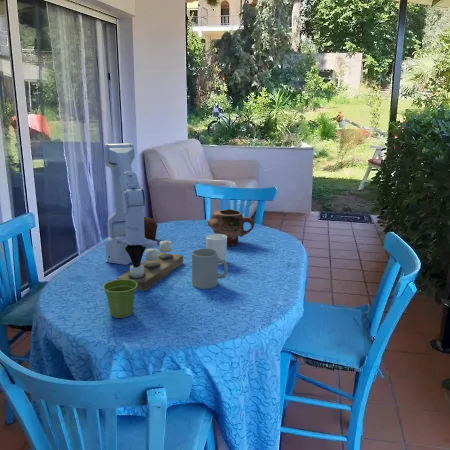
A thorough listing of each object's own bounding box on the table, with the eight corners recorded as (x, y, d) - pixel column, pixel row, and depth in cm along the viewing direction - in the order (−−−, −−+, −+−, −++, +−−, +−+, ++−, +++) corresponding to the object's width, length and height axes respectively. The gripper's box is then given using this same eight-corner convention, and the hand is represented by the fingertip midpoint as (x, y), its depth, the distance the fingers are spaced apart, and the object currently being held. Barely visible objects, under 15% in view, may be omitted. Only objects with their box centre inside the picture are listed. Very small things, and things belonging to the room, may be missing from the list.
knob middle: (143, 259, 154) (142, 250, 153) (149, 255, 158) (149, 247, 157) (154, 261, 153) (154, 252, 152) (160, 257, 157) (160, 248, 156)
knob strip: (117, 286, 146) (117, 277, 145) (159, 259, 171) (159, 251, 170) (144, 291, 142) (144, 281, 142) (183, 263, 168) (183, 255, 167)
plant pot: (107, 306, 131) (105, 279, 129) (140, 305, 132) (139, 278, 130) (101, 321, 122) (99, 292, 120) (136, 320, 123) (135, 291, 121)
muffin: (145, 235, 203) (144, 213, 200) (163, 239, 197) (163, 217, 194) (125, 241, 194) (124, 218, 191) (144, 246, 188) (143, 222, 185)
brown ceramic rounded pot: (254, 240, 197) (255, 209, 194) (253, 248, 186) (254, 216, 182) (209, 238, 199) (209, 207, 195) (205, 247, 187) (205, 214, 184)
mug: (188, 287, 146) (188, 255, 143) (196, 277, 154) (196, 247, 151) (224, 291, 143) (224, 258, 140) (230, 281, 151) (231, 250, 148)
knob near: (127, 276, 146) (127, 267, 145) (134, 272, 150) (134, 263, 149) (139, 278, 144) (139, 269, 143) (146, 274, 148) (146, 264, 147)
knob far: (157, 251, 163) (157, 242, 162) (163, 247, 167) (163, 239, 166) (168, 252, 162) (168, 244, 161) (173, 249, 166) (173, 240, 165)
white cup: (224, 266, 165) (224, 240, 162) (203, 264, 167) (203, 238, 164) (228, 259, 172) (229, 234, 170) (208, 257, 174) (208, 233, 171)
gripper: (108, 227, 141) (110, 267, 145) (148, 231, 136) (150, 273, 140) (120, 221, 148) (122, 260, 151) (159, 226, 143) (161, 266, 146)
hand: (136, 266), depth 146 cm, fingers closed, pressing on knob near
